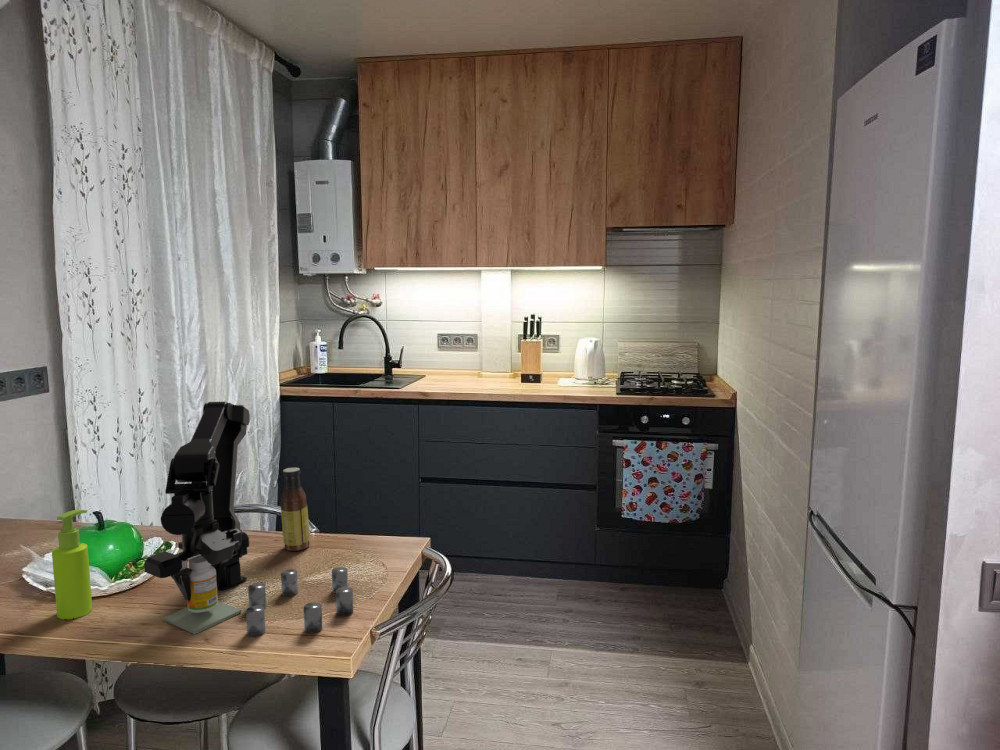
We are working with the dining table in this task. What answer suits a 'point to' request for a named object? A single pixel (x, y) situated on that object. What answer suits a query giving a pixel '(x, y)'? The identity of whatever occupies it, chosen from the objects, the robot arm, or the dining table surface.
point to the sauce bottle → (294, 512)
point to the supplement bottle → (202, 586)
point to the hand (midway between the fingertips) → (201, 594)
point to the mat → (201, 617)
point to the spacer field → (311, 610)
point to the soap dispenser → (71, 571)
